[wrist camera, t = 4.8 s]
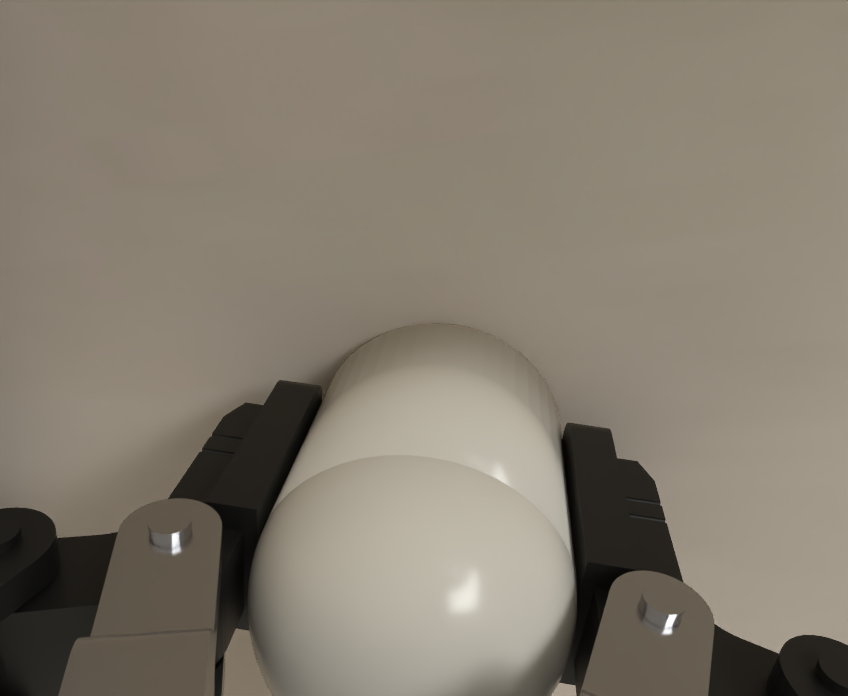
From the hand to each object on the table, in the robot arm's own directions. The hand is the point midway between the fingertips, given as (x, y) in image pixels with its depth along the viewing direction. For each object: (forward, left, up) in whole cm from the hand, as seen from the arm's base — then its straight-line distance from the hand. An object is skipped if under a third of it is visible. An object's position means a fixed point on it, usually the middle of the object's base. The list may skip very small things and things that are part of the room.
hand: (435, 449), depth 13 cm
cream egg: (0, 0, -1) cm, 1 cm away
